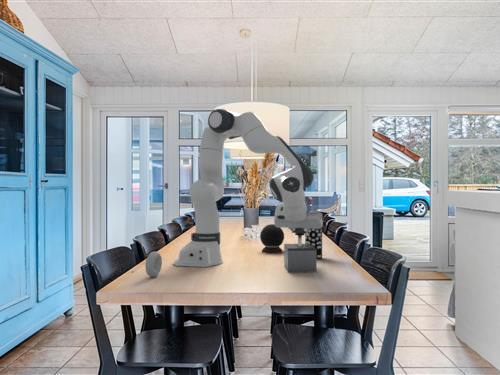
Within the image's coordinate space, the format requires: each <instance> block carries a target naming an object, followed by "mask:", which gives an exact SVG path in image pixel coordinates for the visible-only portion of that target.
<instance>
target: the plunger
mask: <svg viewBox="0 0 500 375" xmlns="http://www.w3.org/2000/svg"><path fill="white" fill-rule="evenodd" d="M294 235H295V236H297V244H298V247H302V244H303V240H302V239H303V236H305V233H304V228H295V233H294Z"/></svg>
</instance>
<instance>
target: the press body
mask: <svg viewBox="0 0 500 375" xmlns="http://www.w3.org/2000/svg"><path fill="white" fill-rule="evenodd" d="M283 248H284V250H283V256H284V258H283V260H284V261H283V264H284V265H283V266H284V268H285V270H286V272H287V273H317V266H318V265H317V261H318V260H317V248H316V247H314V246H313V245H312V244H305V243H302V247H298V243H284V244H283Z"/></svg>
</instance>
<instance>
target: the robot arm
mask: <svg viewBox="0 0 500 375" xmlns="http://www.w3.org/2000/svg"><path fill="white" fill-rule="evenodd" d="M207 124H208V126H206V127H205V128H203V131H202V136H201V140H200V144H199V145H200V146H199V153H198V164H197V165H198V169H199V174H200V179H197V180H196V181H194V182H193V183H192V184H191V185H190V186H189V189H188V192H189V193H188V194H189V196H190V198H191V200H192V204H193V208H194V209H193V210H194V215H195V217H194V218H195V232H191V234H190V241H189V242H188V243H187V244H186V245H184V246H182V248H181V249H180V250H179V254H178V258H176V259H174V261H173V265H174V266H176V267H200V268H201V267H203V268H208V267H212V266H218V265H221V264H223V263H224V261H223V258H222V252H221V232H220V215H219V214H220V213H219V211H218V207H217V201H219V200H221V198H222V197H223V196H224V194H225V188H224V184H223V183H224V180H223V161H224V160H223V159H224V149H225V142H226V140H227V139H229V140H233V139H236V138H241V139H242V141H243V143H244V145H245V146H246V148H247V149H248V150H249V151H250V152H252V153H255V154H260V155H262V154H279V156H280V155H281V156H282V157H283V158H284V160H285V161H286V162H287V163H288V165H289V166H291V168H289V169H287V170H285V171H283V172H280V173H278V174H275V175H274V176H272V177H271V178H270V179H269V185H268V186H269V189H270V193H271V195H272V196H273V198H274V199H275V200H276V201H278V202H280V203H279V204H277V205H276V208H275V211H274V219H273V224H274V225H275V226H276V227H280V228H285V229H286V228H288V229H289V230H290V231H291V234H295V228H304V233H307V234H308V230H309V229H310V228H311V229H321V228H322V229H323V225H324V224H323V222H324V221H323V213H322V212H320V211H318V210H308V208H307V202H306V201H305V200H306V196H305V190H304V189H306V188H308V187H309V188H310V187H311V185H312V183H313V182H314V177H315V176H314V173H313V171H312V169H311V168H310V167H309V166H308V165H307V164H306V163H305V162H303V160H302V159H301V158H300V157H299V156H298V154H296V153H295V151H294V150H293V149H292V148H291V147H290V145H289V144H288V143H287V142H286V141H285V140H284V139H283V138H282V137H281V136H279V135H274V134H272V133H271V132H269V131H268V130H267V128H266V127H265V125H264V123H263V121H261V119H260V118H259V117H258V115H257V114H255V112H254V111H250V110H249V111H244V112H241V113H240V114H239V113H237V112H234V111H229V110H227V109H224V108H217V109H214V110H212V111H211V112H210V114H209V115H208V118H207ZM288 229H287V230H288Z"/></svg>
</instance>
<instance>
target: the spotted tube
mask: <svg viewBox="0 0 500 375" xmlns="http://www.w3.org/2000/svg"><path fill="white" fill-rule="evenodd" d="M304 237H305V238H304V239H305V240H304V244H312V245H313V246H314V247H316V248H317V261H318V260H319V261H320V260H322V259H323V227H322V228H321V229H311V228H310V229H309V230H308V234H307V233H305V235H304Z"/></svg>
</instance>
